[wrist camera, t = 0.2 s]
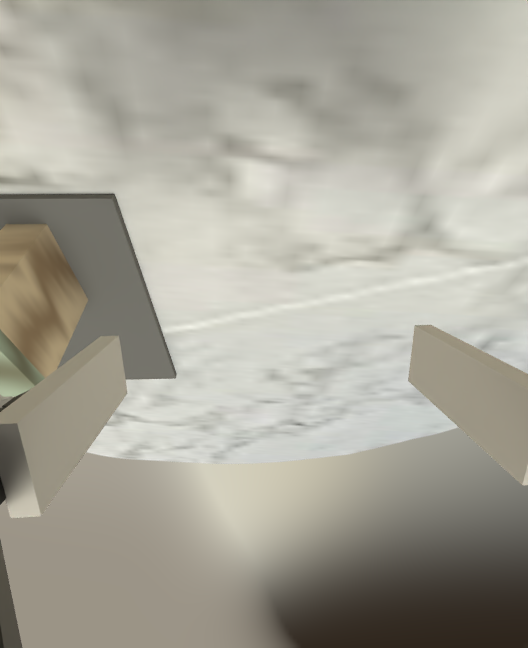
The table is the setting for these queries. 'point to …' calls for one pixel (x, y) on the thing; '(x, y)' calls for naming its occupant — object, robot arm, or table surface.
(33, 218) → the mat
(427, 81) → the table surface
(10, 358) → the tan and green block
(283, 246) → the table surface
